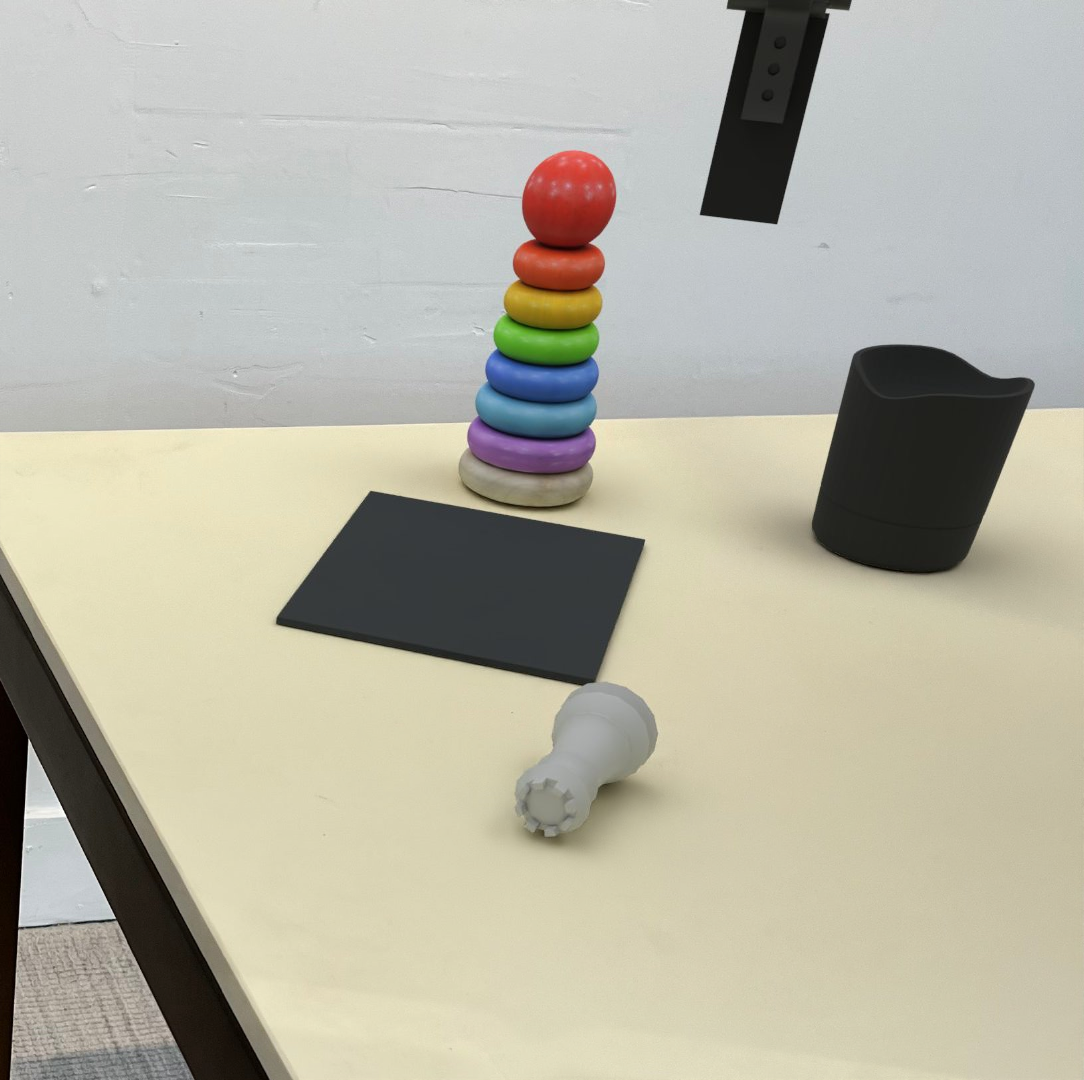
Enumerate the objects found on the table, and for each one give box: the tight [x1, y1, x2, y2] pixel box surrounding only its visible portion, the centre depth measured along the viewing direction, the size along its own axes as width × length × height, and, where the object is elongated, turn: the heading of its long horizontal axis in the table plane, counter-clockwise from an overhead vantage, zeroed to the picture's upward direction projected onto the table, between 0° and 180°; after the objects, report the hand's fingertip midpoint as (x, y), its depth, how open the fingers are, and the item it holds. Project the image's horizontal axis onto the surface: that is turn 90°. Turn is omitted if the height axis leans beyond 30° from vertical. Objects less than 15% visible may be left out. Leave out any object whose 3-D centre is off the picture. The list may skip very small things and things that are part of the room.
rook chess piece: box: [513, 681, 659, 838], centre depth 78 cm, size 4×4×8 cm
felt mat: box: [275, 490, 646, 686], centre depth 99 cm, size 16×20×1 cm
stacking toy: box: [457, 149, 617, 507], centre depth 105 cm, size 8×8×19 cm
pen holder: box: [811, 343, 1036, 573], centre depth 103 cm, size 9×9×10 cm
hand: (739, 214), depth 66 cm, fingers closed
